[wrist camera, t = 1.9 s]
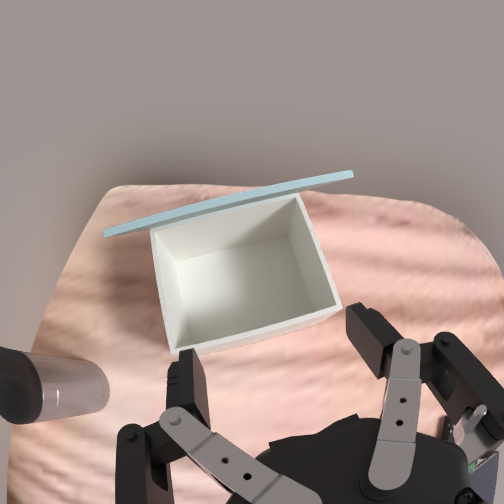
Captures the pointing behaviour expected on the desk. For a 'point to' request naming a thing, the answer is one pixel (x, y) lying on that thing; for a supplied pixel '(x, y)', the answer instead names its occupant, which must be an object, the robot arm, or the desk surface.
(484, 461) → the notebook
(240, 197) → the lid flap
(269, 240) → the carton
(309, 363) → the desk surface
